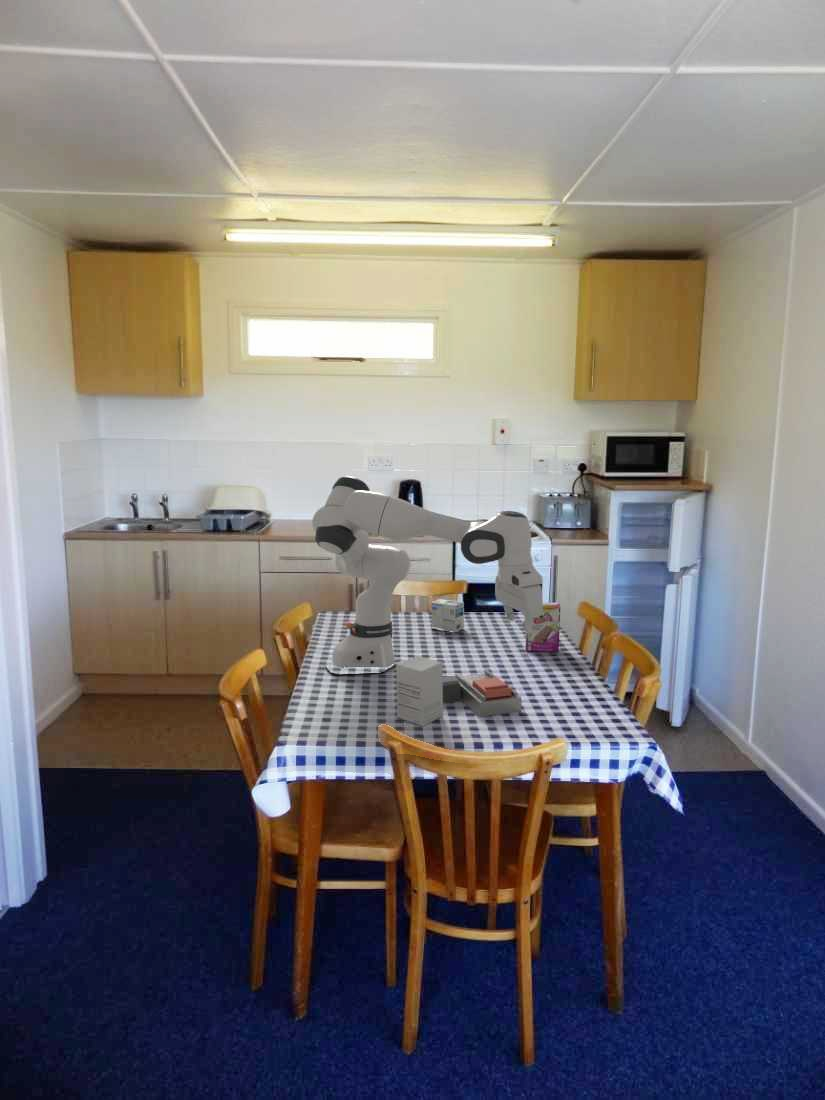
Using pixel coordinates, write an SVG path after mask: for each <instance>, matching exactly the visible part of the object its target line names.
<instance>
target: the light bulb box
mask: <svg viewBox="0 0 825 1100" xmlns="http://www.w3.org/2000/svg"><path fill="white" fill-rule="evenodd" d="M464 605H465V603H464V601H458V600H449V599H443V598H439V599H436V600H433V601H431V607H430V608H431V610H430V611H431V628H432V627H437V628H441V629H445V630H448V631H453V632H457V631H459V630H461V629H463V628H464V629H465V626H464V625H465V608H464V607H465V606H464ZM464 629H463V630H464ZM461 631H462V630H461ZM459 632H460V631H459ZM457 633H458V632H457Z"/></svg>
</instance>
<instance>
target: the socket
mask: <svg viewBox="0 0 825 1100" xmlns="http://www.w3.org/2000/svg"><path fill="white" fill-rule="evenodd" d="M454 677H455V678H457V679H458V680H459V683H460V684H461V701H462V702H463V703H464V704H465V705H466V706H467V707H469V709H471V711H473V712H474V713H475V714H476V715H477V716H478V717H479V718H482V717H490V716H496V715H505V714H512V713H518V712H522V696H520V694H518V692H517V691H516V690H515V689H513V688H512V687H511V695H509V696H501V697H493V698H486V697H485V696H484V695H483V694H482V693H481V692H479V691H478V690H477V689H476V688H475V687H473V680H480V679H489V678H498V677H497V676H496V675H495V674H494V673H492V672H491V671H489V670H488V669H485V670H484V673H477V674H469V675H461V674H459V672H458V673H455V675H454Z"/></svg>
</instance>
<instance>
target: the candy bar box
mask: <svg viewBox="0 0 825 1100" xmlns="http://www.w3.org/2000/svg"><path fill="white" fill-rule="evenodd" d="M560 622H561V604H560V603H559V602H545V601H543V609H542V612H541V614H539V615H534V617H533V620H532V628H531V629H528V630H527V629H525V643H524V645H525V646H524V647H525V651H526V652H528V653H529V652H532V653H533V652H534V653H559V648H560V647H559V646H560V627H561V623H560Z"/></svg>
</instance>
